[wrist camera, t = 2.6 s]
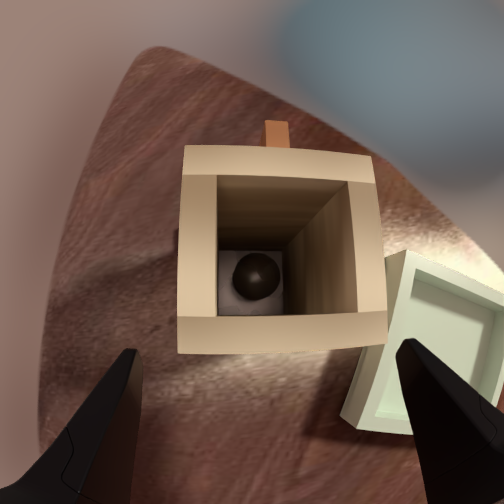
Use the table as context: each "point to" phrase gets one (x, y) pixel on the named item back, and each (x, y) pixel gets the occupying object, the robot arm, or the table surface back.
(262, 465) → the table surface
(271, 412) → the table surface
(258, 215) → the birch sleeve
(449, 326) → the green tray
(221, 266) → the stand
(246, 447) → the table surface
